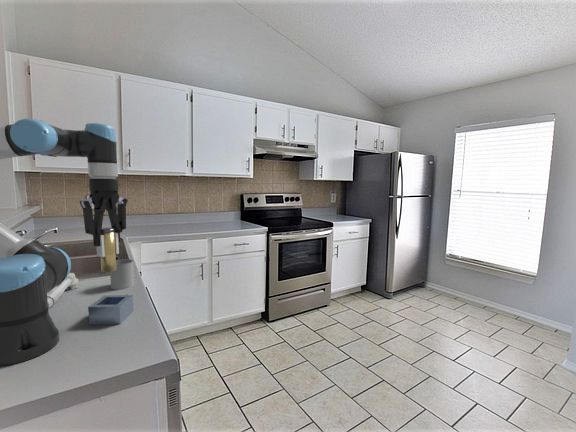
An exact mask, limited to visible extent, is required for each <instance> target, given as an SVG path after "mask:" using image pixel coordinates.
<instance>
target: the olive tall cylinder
mask: <svg viewBox="0 0 576 432" xmlns="http://www.w3.org/2000/svg"><path fill="white" fill-rule="evenodd" d="M101 235H104V247H105V257H100V268H101V269H100V270H101V271H100V272H101V273H110V272H112V271H115V270H116V260H117V259H116V258H117V254H116V251H115V228H112V227H102V230H101Z"/></svg>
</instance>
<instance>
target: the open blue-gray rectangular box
mask: <svg viewBox="0 0 576 432" xmlns="http://www.w3.org/2000/svg"><path fill="white" fill-rule="evenodd" d="M133 297H134V296H133V295H132V294H121V295H118V294H117V295H115V294H113V295H107V294H106V295H103V296H101V297H100V298H99V299H97V300H96V301H95V302H93V303H91V304H90V305H89V306H88V307H87V309H88V310H87V311H88V323H89V326H90V325H91V326H92V325H121V324H122V323H123V322H124V321H125V320H126V319H127V318H128V317H129V316H130V315H131V314H133V312H134V298H133Z"/></svg>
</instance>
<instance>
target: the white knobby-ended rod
mask: <svg viewBox="0 0 576 432" xmlns="http://www.w3.org/2000/svg"><path fill="white" fill-rule="evenodd" d="M79 282H80V281H79V278H77V277H76V274H75V273H74V272H69V274H68V276H67V277H66V278H65V280H64V281H63V282H62V283H61V284H60V285H58V286H56V287H55V288H53V289H52V290H51V291H50V292H48V293H47V300H48V310H49V309H51V308H52V307H53V306H54V305H56V301H57V300H58V299H59V298H60V296H61V295H62V294H63V293H64V292H65V291H67V292H68V291H69V292H70V291H73V290H75V289H78V288H79Z"/></svg>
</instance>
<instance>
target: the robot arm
mask: <svg viewBox="0 0 576 432" xmlns="http://www.w3.org/2000/svg"><path fill="white" fill-rule="evenodd" d="M117 150H118V149H117V137H116V131H115V128H114V127H113V126H111V125H109V124H106V123H98V122H97V123H96V122H92V123H91V122H90V123H86V124H85V128H84V130H83V129H82V130H74V129H73V130H72V129H65V128H64V129H62V128H60V127H57V126H54V125H52V124H49V123H47V122H45V121H43V120H39V119H36V118H35V119H33V118H22V119H20V120H17V121H15V122H14V123H13V124H3V125H0V160H3V159H4V160H6V159H12V158H17V157H26V156H27V157H28V156H35V155H40V156H44V157H51V158H52V157H53V158H55V157H56V158H57V157H66V158H69V157H73V158H75V157H77V158H80V157H81V158H86V159H87V167H88V168H87V171H88V176H89V177H90V178H89V179H88V188H89V192H90V193H89V195H88V198H86V199H83V200H80V201H79V205H80V206H81V208H82V213H83V214H82V215H83V223H84V224H83V225H84V233H85V234H88V235H92V238H93V246H95V248H96V249H95V250H96V257H99V258H101V257H105V247H104V235H101V230H102V228H103V221H104V213H105V212H107V214H108V218H109V222H110V226H111V227H110V228H115V251H116V255H118V254H120V248H119V245H120V243H121V233H123V230H126V229H127V204H128V201H129V200H128V198H123V197H120V195H119V190H120V189H119V187H120V186H119V180H118V179H117V178H118V177H119V171H118V170H119V169H118V168H119V167H118V157H117ZM92 206H93V207H92ZM71 270H72V263H71V258H70V257H69V255H68V253H66V252H65V251H64V250H62V249H60V248H58V247H53V246H46V245H45V244H43V243H42V242H41V241H39V240H37V239H35V238H30V239H26V238H24V237H23V236H21V235H19V234H18V233H17V232H15V231H14V230H12V229H11V228H9V227H8V226H6V225H5V224H3V223H1V222H0V367H3V366H9V365H14V364H18V363H22V362H25V361H29V360H31V359H34V358H38V357H39V356H41V355H43V354H45V353H47V352H49V351H50V350H52V349H53V348H54V347H56V345H57V344H59V341H60V333H59V329H58V328H57V327H56V324H55V322H54V321H53V319H52V317H51V315H50V313H49V309H48V300H47V293H49V292H50V291H51V290H52V289H53V288H55V287H56V286H58V285H60V284H61V283H62V282H63V281H64V280H65V278H66V277H67V276H68V274H69V273H71Z"/></svg>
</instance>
